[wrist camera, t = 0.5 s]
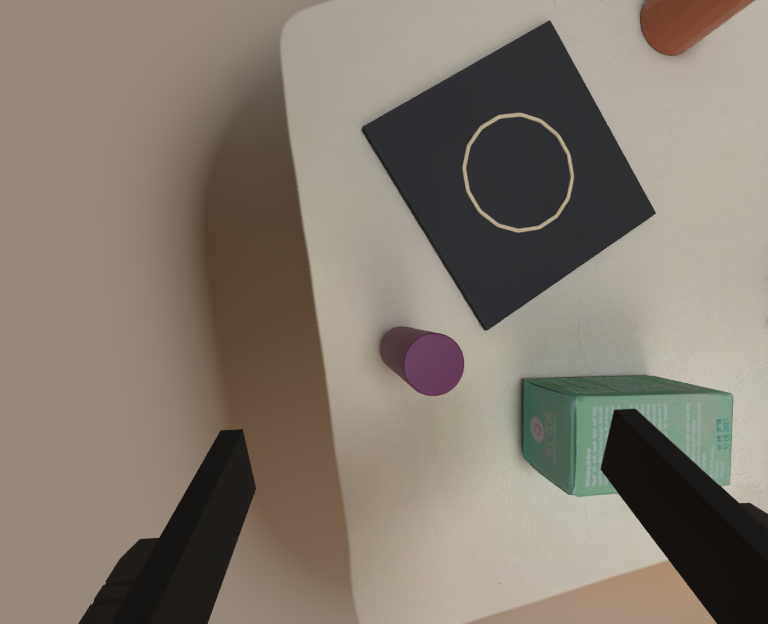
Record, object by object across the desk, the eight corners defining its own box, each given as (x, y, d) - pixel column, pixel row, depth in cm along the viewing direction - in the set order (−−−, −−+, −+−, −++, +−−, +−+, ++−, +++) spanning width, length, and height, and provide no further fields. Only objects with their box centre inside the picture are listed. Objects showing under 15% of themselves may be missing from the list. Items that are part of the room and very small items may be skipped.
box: (517, 377, 33) (574, 397, 25) (649, 373, 35) (736, 390, 28) (517, 459, 33) (573, 502, 25) (648, 449, 35) (735, 487, 28)
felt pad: (361, 130, 31) (362, 126, 30) (546, 24, 33) (550, 18, 33) (484, 330, 32) (487, 330, 32) (650, 214, 35) (657, 213, 34)
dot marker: (369, 341, 31) (391, 356, 20) (404, 317, 31) (443, 320, 21) (392, 376, 31) (425, 408, 21) (427, 353, 32) (475, 373, 21)
